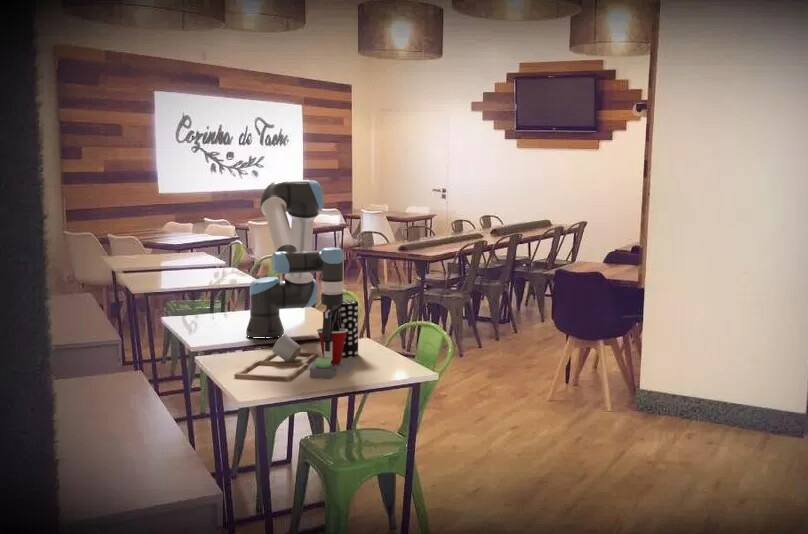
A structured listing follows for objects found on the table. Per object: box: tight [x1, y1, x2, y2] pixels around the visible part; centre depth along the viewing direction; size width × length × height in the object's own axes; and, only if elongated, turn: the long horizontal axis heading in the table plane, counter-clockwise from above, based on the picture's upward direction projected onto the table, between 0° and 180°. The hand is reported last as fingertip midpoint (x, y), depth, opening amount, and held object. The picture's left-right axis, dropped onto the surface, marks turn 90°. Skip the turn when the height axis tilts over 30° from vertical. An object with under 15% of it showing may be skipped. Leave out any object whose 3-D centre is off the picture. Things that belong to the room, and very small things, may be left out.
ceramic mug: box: [271, 333, 302, 362], centre depth 279 cm, size 11×8×8 cm
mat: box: [303, 358, 361, 373], centre depth 274 cm, size 16×16×1 cm
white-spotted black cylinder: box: [339, 299, 359, 359], centre depth 287 cm, size 8×8×20 cm
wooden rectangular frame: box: [234, 351, 319, 382], centre depth 271 cm, size 34×19×2 cm, turn 169°
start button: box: [315, 356, 331, 368], centre depth 259 cm, size 5×5×2 cm
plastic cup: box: [316, 327, 348, 364], centre depth 273 cm, size 11×11×12 cm
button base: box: [309, 364, 337, 380], centre depth 260 cm, size 7×7×4 cm
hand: (332, 356), depth 273 cm, fingers closed on plastic cup, 9 cm apart
